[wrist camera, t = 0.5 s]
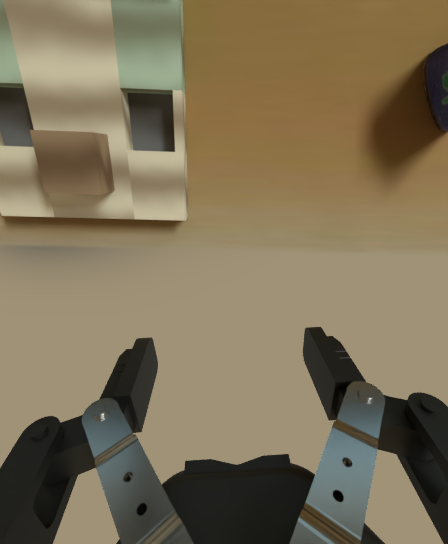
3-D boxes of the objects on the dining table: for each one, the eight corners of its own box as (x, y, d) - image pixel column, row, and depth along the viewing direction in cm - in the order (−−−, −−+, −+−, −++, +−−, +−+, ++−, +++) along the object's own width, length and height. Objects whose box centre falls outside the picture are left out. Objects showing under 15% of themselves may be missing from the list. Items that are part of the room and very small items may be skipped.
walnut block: (114, 189, 32) (101, 194, 28) (64, 188, 32) (44, 193, 28) (107, 134, 30) (91, 132, 26) (52, 132, 29) (29, 129, 26)
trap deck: (188, 215, 37) (184, 223, 32) (18, 210, 36) (-8, 218, 32) (182, -15, 27) (176, -46, 23) (-52, -29, 26) (-103, -63, 22)
